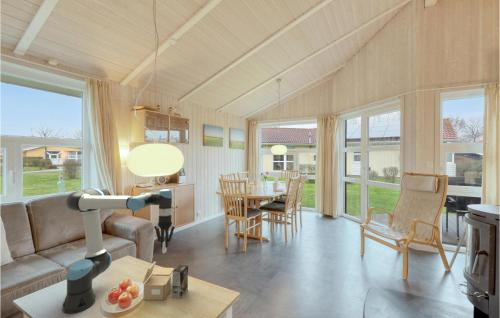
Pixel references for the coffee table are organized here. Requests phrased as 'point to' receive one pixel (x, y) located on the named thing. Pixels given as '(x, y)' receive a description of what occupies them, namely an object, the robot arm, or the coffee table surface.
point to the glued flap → (149, 272)
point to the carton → (158, 284)
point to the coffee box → (180, 281)
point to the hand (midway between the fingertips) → (164, 252)
